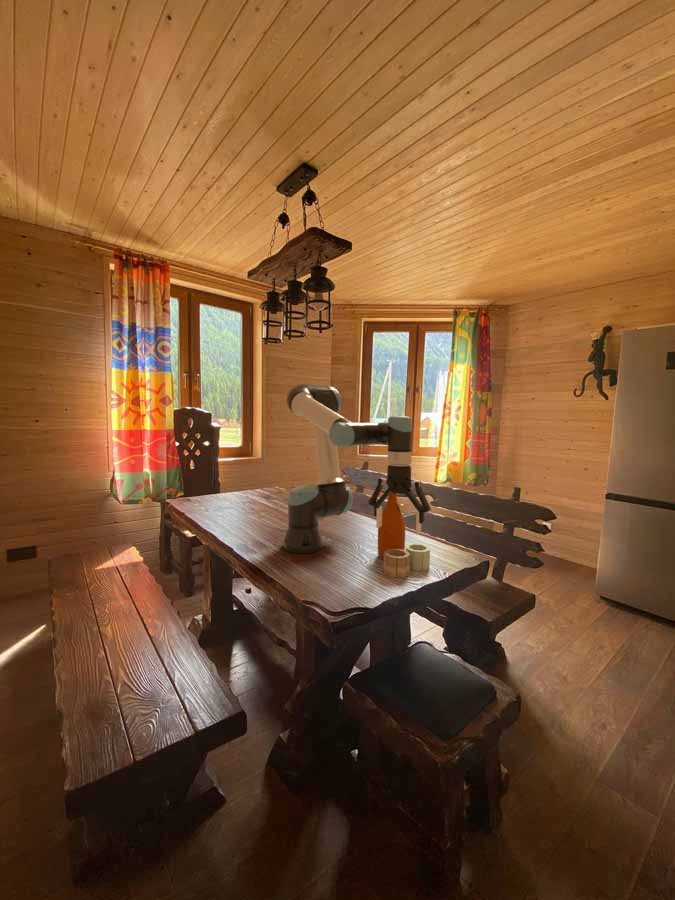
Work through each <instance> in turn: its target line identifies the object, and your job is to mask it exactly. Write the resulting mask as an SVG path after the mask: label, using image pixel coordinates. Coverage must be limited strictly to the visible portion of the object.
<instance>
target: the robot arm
mask: <svg viewBox="0 0 675 900" xmlns="http://www.w3.org/2000/svg"><path fill="white" fill-rule="evenodd" d="M285 401H286V406H287V408H288V409H289V411H291V413H293V414H295V416H298V417H303V418H305V420H308V421H309V422H310V423H312V424H313V430H314V438H315V439H314V440H315V448H316V459H317V465H318V467H317V468H318V473H319V474H318V476H319V480H318V482H317V483H316V485H314V484H309V485H300V486H296V487H294V488H292V489H290V491H289V492H288V498H287V506H288V507H287V512H288V513H287V515H288V517H287V518H288V519H287V520H288V521H287V522H288V525H287V531H286V533H285V538H284V540H283V549H284V550H285V551H288V552H290V553H295V554H309V553H310V554H311V553H315V552H317V551H318V552H319V551H321V549H323V546H324V543H323V538H322V535H321V532H320V528H319V519H322V518H327V517H335V516H340V515H343V514H346V513H348V512H349V511H350V509H351V507H352V506H353V499H354V498H353V492H352V490H351V488H350V487H349V486H348V485H347V484H346V482H345V480H344V479H343V477H341V470H340V461H339V453H338V447H345V448H346V447H355V446H379V445H380V446H387V464H389V465H387V469H386V471H387V475H386V476H387V478H384V477H380V478H378V479H377V485H376V488H375V489H374V491H373V493H372V495H371V497H370V499H369V501H368V504H369V506H372V507H373V510H374V511H373V512H374V513H373V515H374V517H375V518H376V522H375V523H376V524H375V525H376V528H377V529H378V528H379V527H381V526H382V512H383V506H381V505H382V504H383V503H384V501H385V500H386V499H388V496H389V495H390V493H392V492H393V493H395V494H396V495H397V494H399V495H405V496H406V497H407V498H408V500H409V501H410V502H411V503H412V505H413V507H414V508H415V509H416V511H417V513H416V514H415V517H416V519H415V520H416V521H415V523H416V524H415V534H416V535H420V534H421V533H422V524H423V523H425V513H428V512H430V511H431V509H432V508H431V506H430V504H429V501H428V499H427V497H426V495H425V493H424V491H423V488H422V482H421V480H417V481H412V466H411V464H412V439H413V424H412V418H411V417H410V416H399V415H398V416H389V417H388V419H387V422H377V421H376V422H375V421H372V422H371V421H370V422H353V421H351V420H349V419H347V418H346V417H344V416H342V415H340V414H339V412H340V410H341V406H342V398H341V394H340V393H339V391H338V390H337V389H336V388H335V387H334V386H330V385H329V386H328V385H325V384H324V385H318V384H317V385H316V384H296V385H295V386H293V387H292V388H290V389H289V391H288V393H287V395H286V399H285ZM385 485H387V488H386V490H385V491H384V493H383V494H382V495H380V494H381V491H382V490H383V488H384V486H385ZM388 487H389V488H388ZM411 487H413V489H415V492H416V495H417V497H418V498H417V497H416V495H415V494H414V493H413V490H412V488H411ZM379 496H380V497H379Z"/></svg>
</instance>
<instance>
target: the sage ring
mask: <svg viewBox="0 0 675 900" xmlns="http://www.w3.org/2000/svg"><path fill="white" fill-rule="evenodd" d="M405 551H407V552H409V553H410V570H412V571H419V572H420V571H421V572H422V570H423V572H424V571H427V570H429V569H430V566H431V565H430V564H431V563H430V560H431V548H430V546H429V545H426V544H423V543H415V542H414V543H409V544H406V545H405ZM426 569H427V570H426Z"/></svg>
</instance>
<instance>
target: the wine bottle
mask: <svg viewBox="0 0 675 900" xmlns="http://www.w3.org/2000/svg"><path fill="white" fill-rule="evenodd" d="M388 488H389V487H388V486H387V489H388ZM402 512H403V508H402V504H401V503H400V501H398V495H397V493H396V494H395V493H393V492H392V493H390V495H389V496H388V497H387V501H386V504H385V506H384V508H383V509H382V526H381V527H379V528H377V554H378V557H380V558H381V559H383V560H384V552H385V551H386V550H388V549H401V550H406V545H405V544H406V523H405V519H404V516H403V513H402Z"/></svg>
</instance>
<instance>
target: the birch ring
mask: <svg viewBox="0 0 675 900" xmlns="http://www.w3.org/2000/svg"><path fill="white" fill-rule="evenodd" d="M382 566H383V569H382V570H383V573H384V574H385V575H386V576H388V577H390V578H395V579H396V578H397V579H400V578H399V577H401V578H406V576H407V575H408V574H409V573H410V570H411V569H410V553H409V552H407V551H406V549H404V550H401V549H388V550H386V551H385V552H384V559H383V565H382ZM410 574H411V573H410ZM410 574H409V575H410ZM409 575H408V576H409ZM408 576H407V577H408Z"/></svg>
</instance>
